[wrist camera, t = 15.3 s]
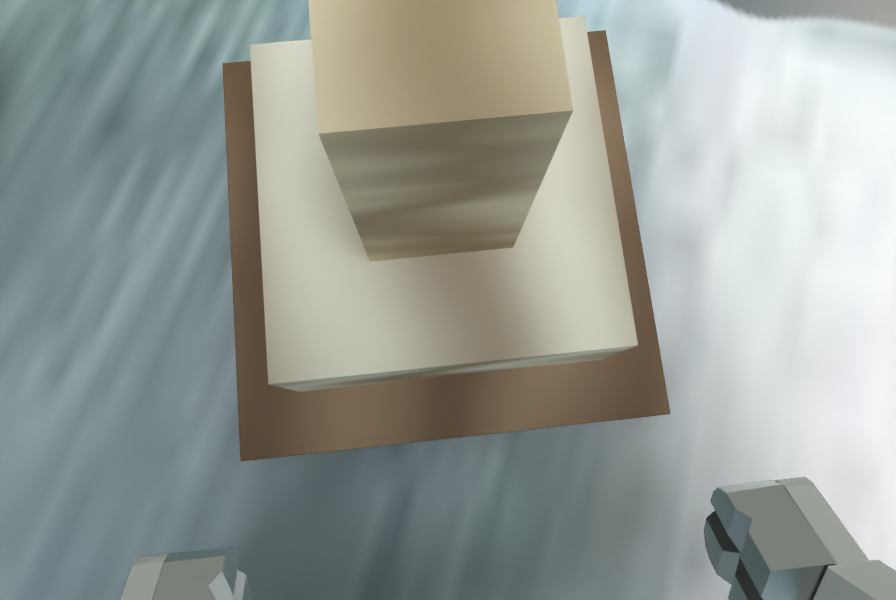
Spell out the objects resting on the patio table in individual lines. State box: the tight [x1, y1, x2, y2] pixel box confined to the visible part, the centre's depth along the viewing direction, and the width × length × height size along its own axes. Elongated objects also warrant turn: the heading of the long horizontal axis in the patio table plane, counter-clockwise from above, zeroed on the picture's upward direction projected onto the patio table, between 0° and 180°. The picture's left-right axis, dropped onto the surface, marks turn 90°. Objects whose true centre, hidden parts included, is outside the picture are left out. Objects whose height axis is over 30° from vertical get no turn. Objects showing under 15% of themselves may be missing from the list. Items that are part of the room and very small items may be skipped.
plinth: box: [223, 16, 670, 461], centre depth 21 cm, size 14×14×6 cm
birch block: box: [308, 0, 573, 262], centre depth 14 cm, size 4×4×8 cm
